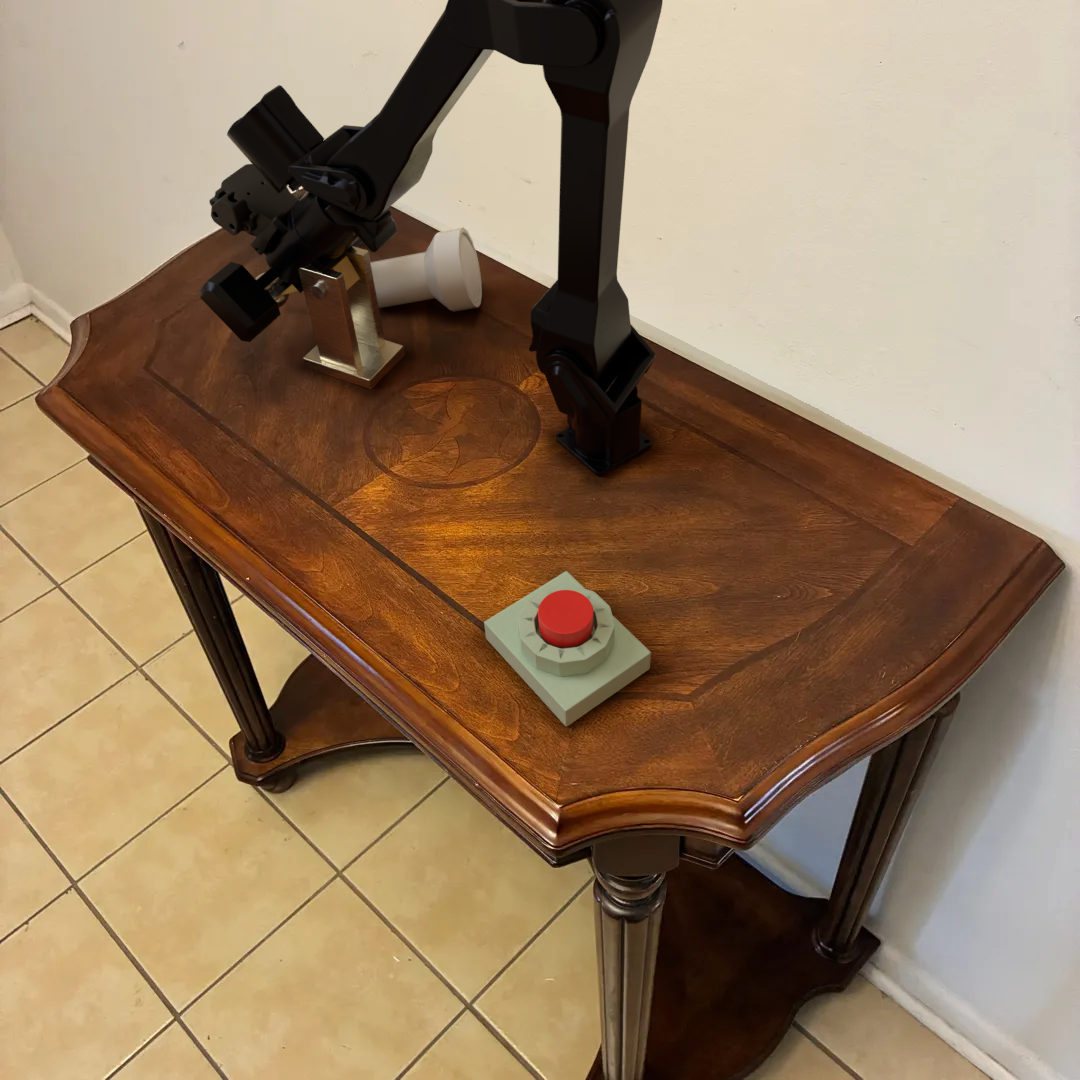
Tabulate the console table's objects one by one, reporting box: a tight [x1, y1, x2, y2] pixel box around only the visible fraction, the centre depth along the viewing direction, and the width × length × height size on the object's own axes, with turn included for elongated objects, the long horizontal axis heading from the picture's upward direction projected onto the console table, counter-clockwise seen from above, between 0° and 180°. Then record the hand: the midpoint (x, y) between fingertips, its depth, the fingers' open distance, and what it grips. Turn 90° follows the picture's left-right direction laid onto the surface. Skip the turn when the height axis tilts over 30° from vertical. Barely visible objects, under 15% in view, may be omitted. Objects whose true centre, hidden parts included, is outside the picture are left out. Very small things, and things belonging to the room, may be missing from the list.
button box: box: [483, 570, 652, 728], centre depth 74 cm, size 10×8×4 cm
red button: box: [538, 590, 594, 648], centre depth 72 cm, size 4×4×2 cm
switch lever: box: [254, 256, 360, 309], centre depth 95 cm, size 13×4×4 cm, turn 62°
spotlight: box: [370, 226, 483, 313], centre depth 103 cm, size 8×11×8 cm
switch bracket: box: [298, 246, 405, 390], centre depth 95 cm, size 8×6×12 cm
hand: (254, 297), depth 100 cm, fingers open, 8 cm apart
